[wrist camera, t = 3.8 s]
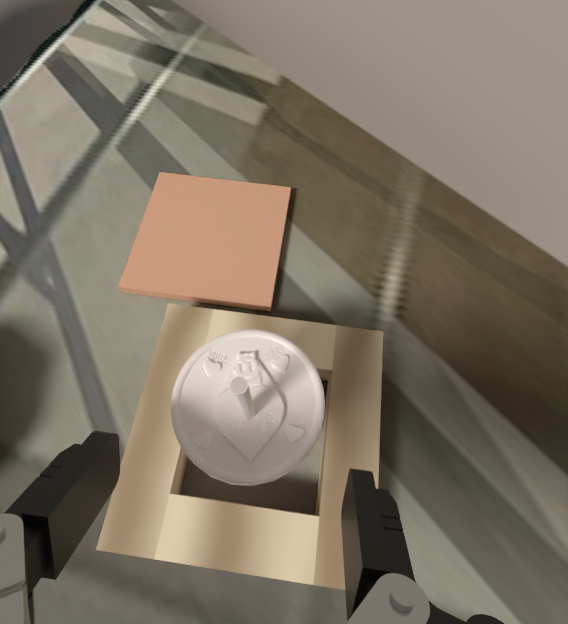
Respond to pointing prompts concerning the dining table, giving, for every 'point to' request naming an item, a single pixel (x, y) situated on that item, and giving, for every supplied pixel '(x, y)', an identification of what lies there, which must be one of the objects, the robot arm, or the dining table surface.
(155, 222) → the coaster
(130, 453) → the block
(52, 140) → the dining table surface
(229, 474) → the smoothie
